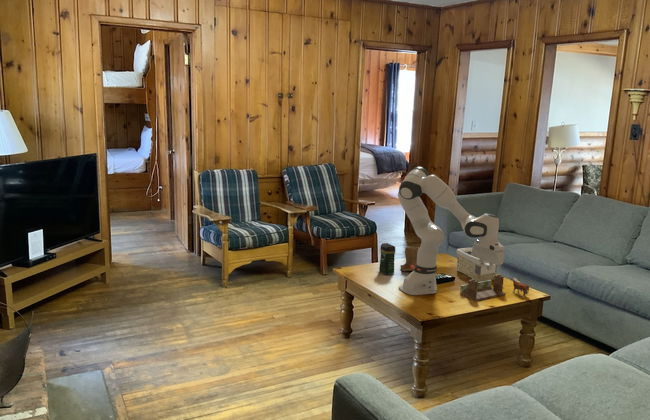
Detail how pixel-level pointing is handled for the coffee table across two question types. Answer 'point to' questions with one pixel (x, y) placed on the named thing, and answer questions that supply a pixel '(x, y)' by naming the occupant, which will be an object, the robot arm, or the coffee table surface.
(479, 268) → the rail bar
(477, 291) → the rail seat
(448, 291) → the coffee table surface
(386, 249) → the coffee jar
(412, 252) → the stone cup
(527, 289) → the bull figurine
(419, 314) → the coffee table surface
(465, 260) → the storage basket
